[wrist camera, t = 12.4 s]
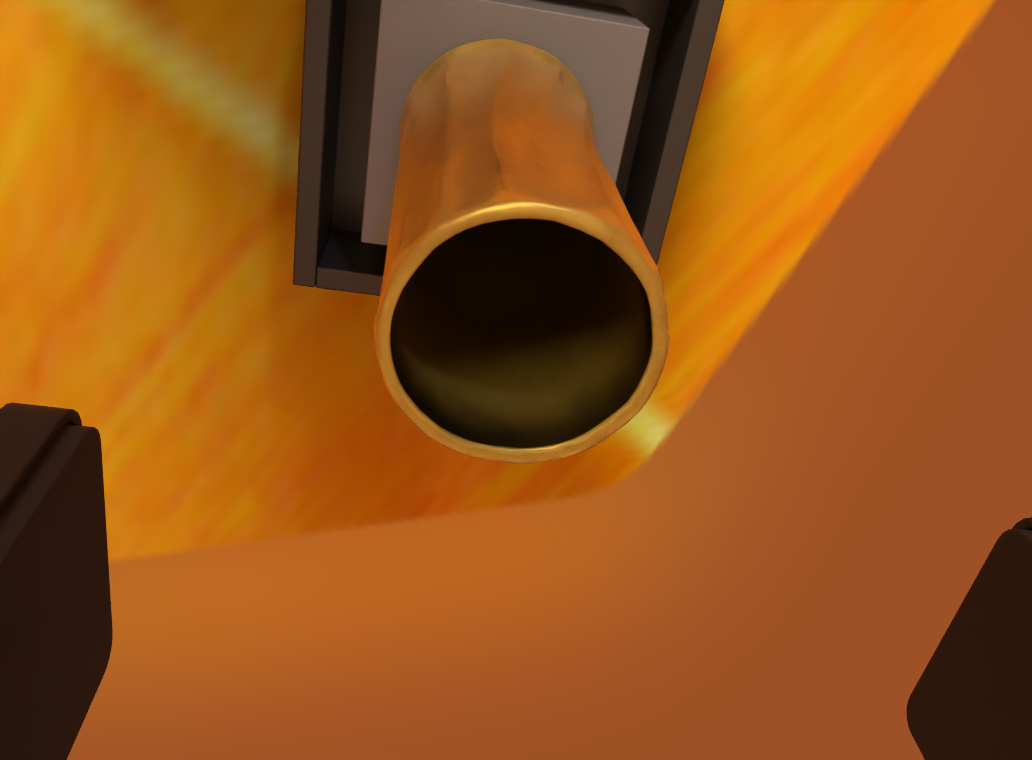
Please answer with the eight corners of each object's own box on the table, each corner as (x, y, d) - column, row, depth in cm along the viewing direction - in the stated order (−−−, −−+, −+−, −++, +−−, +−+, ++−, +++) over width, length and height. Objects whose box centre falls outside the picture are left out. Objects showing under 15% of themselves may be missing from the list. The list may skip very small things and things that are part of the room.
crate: (311, 240, 35) (292, 285, 31) (332, -122, 29) (311, -123, 25) (621, 282, 37) (640, 329, 33) (701, -54, 31) (736, -45, 27)
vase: (601, 218, 29) (701, 462, 17) (419, 244, 30) (386, 507, 17) (583, 23, 26) (689, 146, 14) (380, 54, 27) (307, 203, 14)
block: (373, 196, 34) (360, 242, 29) (394, -33, 30) (382, -18, 26) (579, 225, 35) (596, 274, 30) (624, 7, 31) (650, 28, 27)
